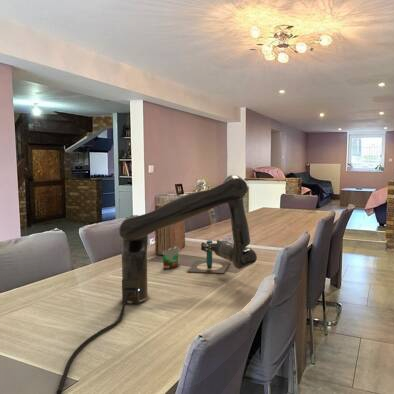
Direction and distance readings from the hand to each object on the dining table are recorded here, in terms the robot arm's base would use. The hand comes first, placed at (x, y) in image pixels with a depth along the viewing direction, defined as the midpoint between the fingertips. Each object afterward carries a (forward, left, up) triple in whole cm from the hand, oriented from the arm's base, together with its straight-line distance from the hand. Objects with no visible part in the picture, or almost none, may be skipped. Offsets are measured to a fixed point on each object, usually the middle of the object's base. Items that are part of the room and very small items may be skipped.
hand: (210, 243), depth 170 cm
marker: (+1, 0, -13) cm, 13 cm away
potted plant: (+2, +20, -14) cm, 24 cm away
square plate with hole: (+3, +1, -14) cm, 14 cm away
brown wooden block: (+34, +33, -14) cm, 49 cm away
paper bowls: (+35, -5, -14) cm, 38 cm away
